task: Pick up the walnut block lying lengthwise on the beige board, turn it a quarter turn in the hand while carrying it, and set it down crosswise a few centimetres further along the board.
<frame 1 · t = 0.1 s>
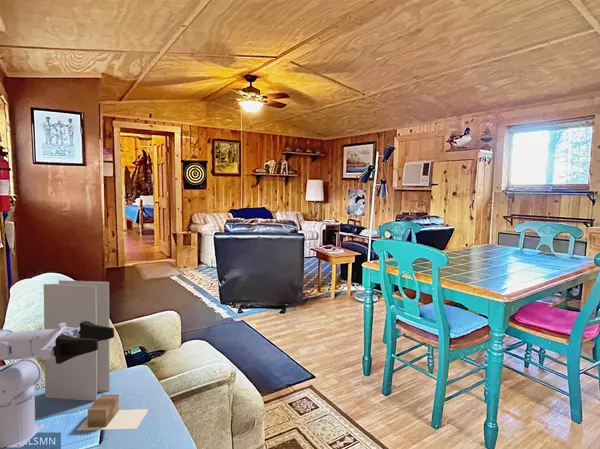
hand: (105, 338, 80), 22 cm above the table, tool horizontal, fingers open, 7 cm apart
beige board: (114, 421, 86), on the table
walnut block: (103, 419, 86), resting on beige board
tall grey box: (78, 396, 98), on the table
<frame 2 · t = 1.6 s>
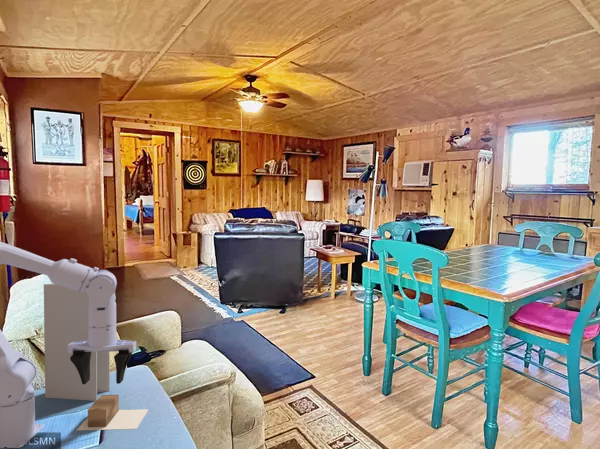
hand: (103, 382, 85), 9 cm above the table, tool pointing down, fingers open, 7 cm apart
nothing on the table moved.
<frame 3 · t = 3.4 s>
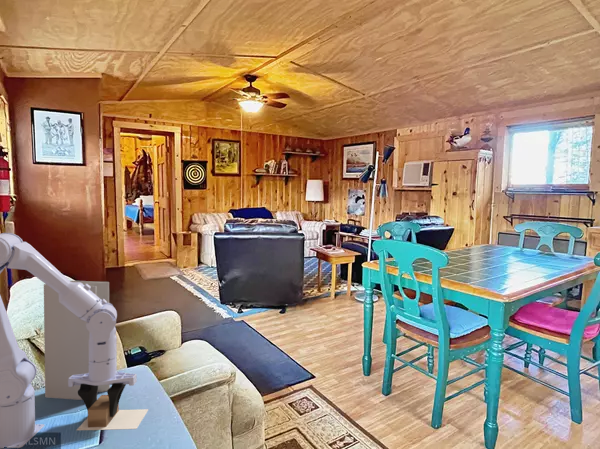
hand: (103, 414, 86), 2 cm above the table, tool pointing down, fingers closed on walnut block, 4 cm apart
walnut block: (103, 419, 86), point 1 cm above the table, touching beige board, gripper
everything else where it was.
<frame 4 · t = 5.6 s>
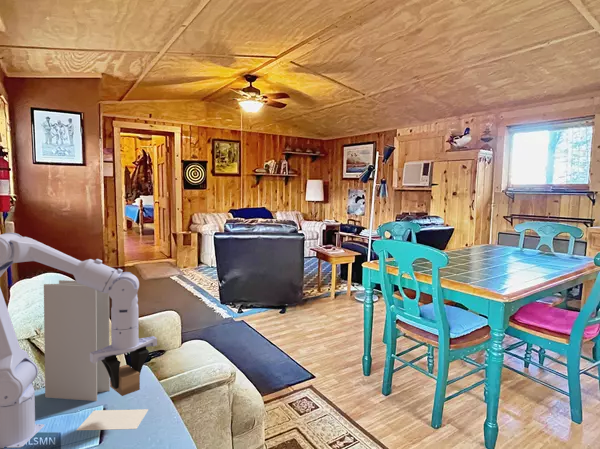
hand: (125, 383, 86), 9 cm above the table, tool pointing down, fingers closed on walnut block, 4 cm apart
walnut block: (125, 388, 86), point 8 cm above the table, touching gripper
everything else where it was.
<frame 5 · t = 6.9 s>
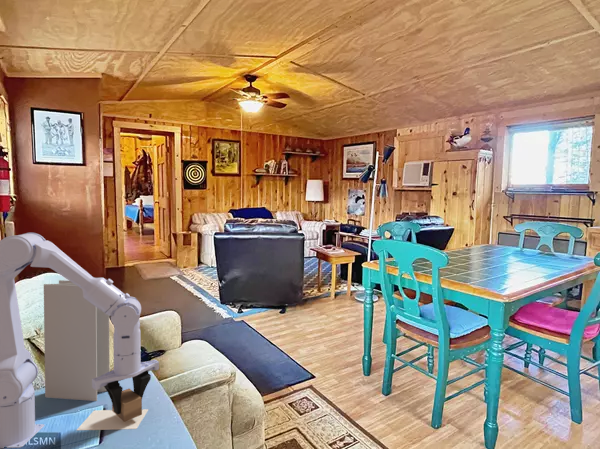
hand: (127, 408, 86), 3 cm above the table, tool pointing down, fingers closed on walnut block, 4 cm apart
walnut block: (127, 413, 86), point 2 cm above the table, touching gripper
everything else where it was.
when the fingers open (3 cm above the table, at t = 7.7 s): walnut block drops 1 cm, resting on beige board.
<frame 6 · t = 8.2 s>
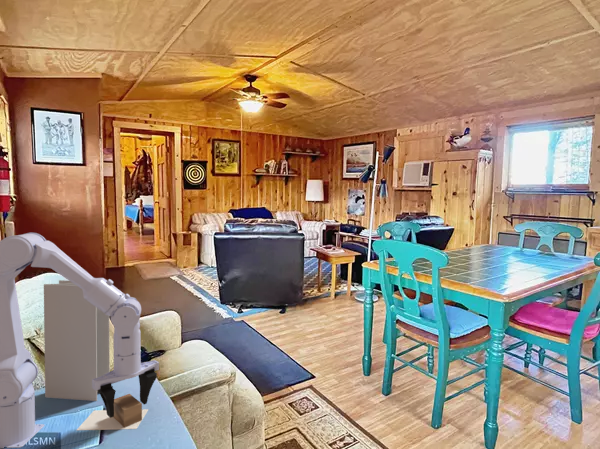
hand: (127, 408, 86), 3 cm above the table, tool pointing down, fingers open, 7 cm apart
walnut block: (127, 418, 86), resting on beige board
everything else where it was.
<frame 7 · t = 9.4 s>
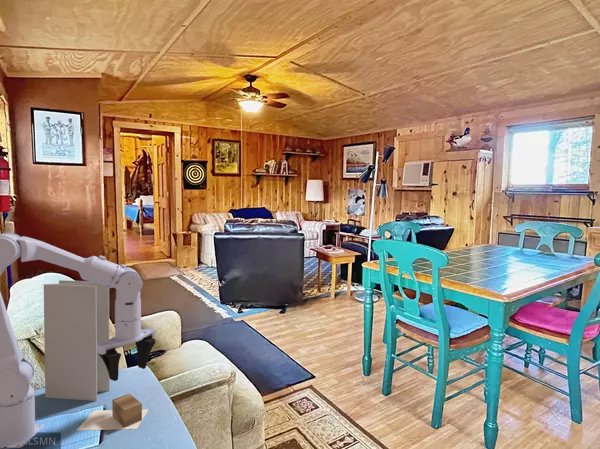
hand: (128, 373, 90), 9 cm above the table, tool pointing down, fingers open, 7 cm apart
nothing on the table moved.
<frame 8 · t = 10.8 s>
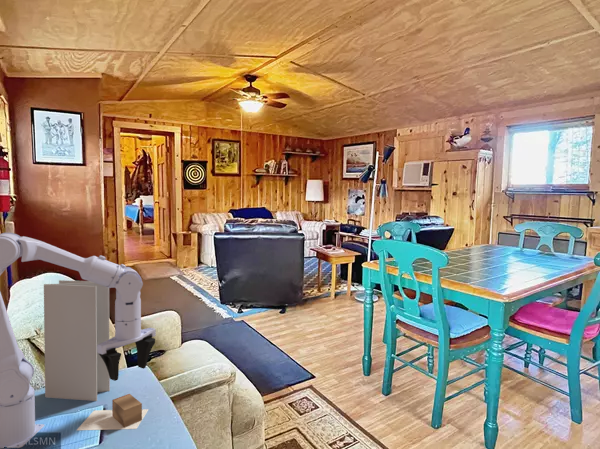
hand: (128, 373, 90), 9 cm above the table, tool pointing down, fingers open, 7 cm apart
nothing on the table moved.
at the end: walnut block 0.0 cm from the target spot, point 0.5 cm above the table; walnut block tilted 0°; the gripper is holding nothing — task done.
